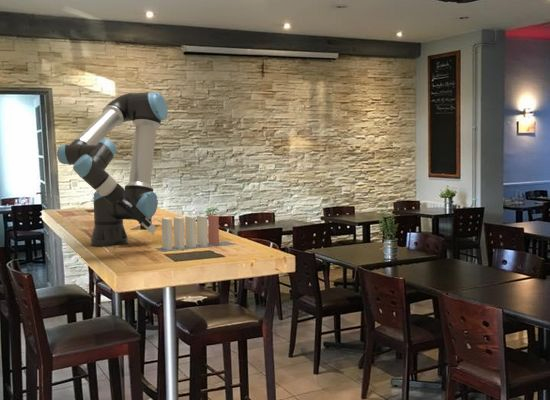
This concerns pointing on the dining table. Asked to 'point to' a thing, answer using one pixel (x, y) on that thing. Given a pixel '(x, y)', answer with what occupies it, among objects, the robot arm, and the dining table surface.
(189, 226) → the domino
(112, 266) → the dining table surface
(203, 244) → the domino
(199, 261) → the dining table surface
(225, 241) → the runner mat
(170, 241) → the domino
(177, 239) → the domino
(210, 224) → the domino
